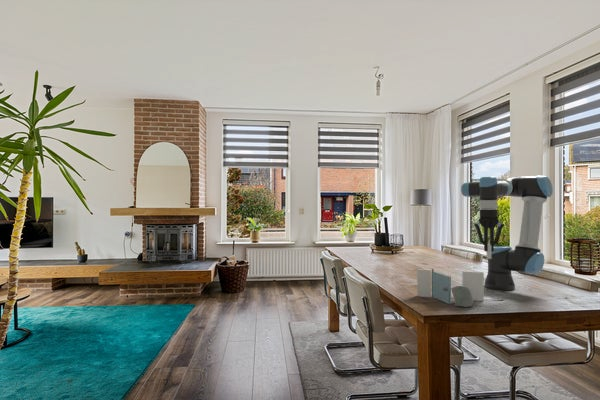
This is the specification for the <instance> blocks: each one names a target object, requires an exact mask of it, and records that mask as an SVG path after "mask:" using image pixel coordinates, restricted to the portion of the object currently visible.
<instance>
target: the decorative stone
mask: <svg viewBox="0 0 600 400" xmlns="http://www.w3.org/2000/svg"><path fill="white" fill-rule="evenodd" d="M451 295H452V298H454V299H453V301H454V305H455V306H456V307H461V308H469V307H471V306H473V305H474V300H473V298H472V295H471V292H470V290H469V289H468V288H467V287H464V286H462V285H456V286H453V287H451Z"/></svg>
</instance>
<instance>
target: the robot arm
mask: <svg viewBox="0 0 600 400" xmlns="http://www.w3.org/2000/svg"><path fill="white" fill-rule="evenodd" d="M553 190H554V189H553V184H552V181H551V179H550V178H549V177H548V176H546V175H530V176H515V177H510V178H502V179H500V180H498V177H497V176H481V177H480V178H479V181H478V182H477V181H475V182H474V181H473V182H472V181H471V182H465V183H462V184H461V187H460V192H461V195H462V196H463V197H464V198H466V197H467V198H471V197H473V198H475V197H479V219H478V222H474V223H473V226H474V227H475V230H476V234H477V237H478V240H479V241H478V242H479V243H480V244H483V250H484V252H486V259H487V274H486V276H485V279H484V287H485V288H488V289H492V290H497V291H513V290H516V284H515V281H514V279H513V276H512V272H517V273H524V274H527V275H528V274H530V275H537V274H539V273H540V272H541V271H542V270H543V267H544V265H545V255H544V254H543V253H542V252H541V251H542V250H541V249H540V247H539V239H540V238H539V237H540V231H541V229H540V228H541V224H542V223H541V222H542V213H543V212H542V211H543V205H544V203H546V202H547V200H548V198H550V197H552V195H553ZM498 197H500V198H501V197H514V198H521V200H522V201H523V202H524V203H523V207H522V208H523V211H522V216H521V225H520V232H519V240H518V244H516V245H514V249H513V248H512V247H511V246H495V245H498V243H499V240H500V236H501V233H502V229H503V228H504V227H505V224H504V223H501V222H500V220H499V219H498V218H499V217H498V216H499V215H498V214H499V213H498ZM480 226H481V227H482V228H483V234H482V231H481V227H480ZM495 227H497V229H496V233H495ZM488 242H489V243H488Z"/></svg>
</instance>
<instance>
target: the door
mask: <svg viewBox="0 0 600 400" xmlns="http://www.w3.org/2000/svg"><path fill="white" fill-rule="evenodd" d="M432 298H434V299H436V300H439V301H441V302H444V303H446V304H447V305H451V304H452V299H451V298H452V277H451V276H450V275H448V274H444V273H441V272H438V271H435V270H434V271H433V297H432Z"/></svg>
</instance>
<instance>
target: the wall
mask: <svg viewBox="0 0 600 400" xmlns="http://www.w3.org/2000/svg"><path fill="white" fill-rule="evenodd" d="M416 270H417V271H416V276H417V277H416V278H417V279H416V280H417V281H416V282H417V283H416V284H417V285H416V292H417V294H416V296H417V297H422V298H423V297H424V298H434V297H433V271H435V270H434V268H432V269H428V268H417V269H416ZM461 272H462V273H461V274H462V275H461V279H462V282H461V283H462V284H461V286H464V287H467V288H468V289H469V290H470V292H471V295H472V298H473V301H476V302H477V301H478V302H479V301H481V302H484V300H485V298H484V295H485V294H484V293H485V292H484V290H485V288H484V287H485V279H484V277H485V276H484V275H485V273H484V271H469V270H468V271H467V270H462V271H461ZM451 300H454V298H453V297H451Z"/></svg>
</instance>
